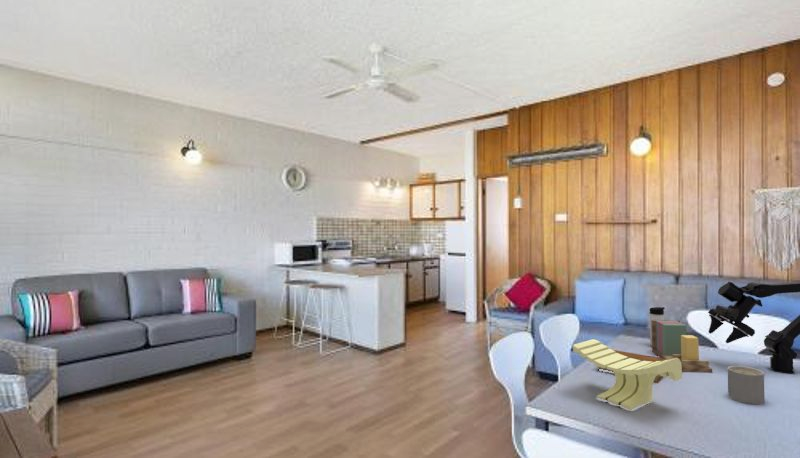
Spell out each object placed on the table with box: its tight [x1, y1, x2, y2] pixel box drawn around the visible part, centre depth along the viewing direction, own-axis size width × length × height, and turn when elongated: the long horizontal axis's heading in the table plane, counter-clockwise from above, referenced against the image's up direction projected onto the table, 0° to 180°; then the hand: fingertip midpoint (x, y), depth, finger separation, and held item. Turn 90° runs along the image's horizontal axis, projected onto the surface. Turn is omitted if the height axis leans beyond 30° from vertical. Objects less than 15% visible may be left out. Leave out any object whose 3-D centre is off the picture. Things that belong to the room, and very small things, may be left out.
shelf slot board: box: [651, 319, 713, 374], centre depth 191 cm, size 12×28×16 cm, turn 171°
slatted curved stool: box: [572, 338, 683, 410], centre depth 151 cm, size 30×16×18 cm, turn 33°
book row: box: [656, 321, 688, 356], centre depth 199 cm, size 9×9×14 cm
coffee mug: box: [727, 365, 766, 405], centre depth 151 cm, size 13×10×10 cm
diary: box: [598, 349, 668, 384], centre depth 181 cm, size 23×19×6 cm
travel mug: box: [649, 306, 665, 348], centre depth 214 cm, size 6×7×20 cm
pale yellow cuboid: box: [681, 334, 700, 360], centre depth 182 cm, size 4×5×12 cm
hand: (717, 337), depth 182 cm, fingers open, 9 cm apart
